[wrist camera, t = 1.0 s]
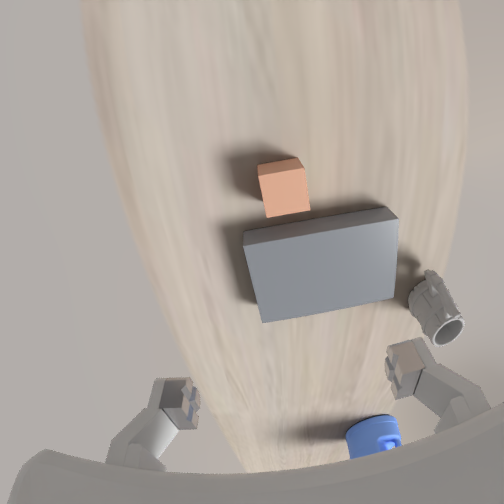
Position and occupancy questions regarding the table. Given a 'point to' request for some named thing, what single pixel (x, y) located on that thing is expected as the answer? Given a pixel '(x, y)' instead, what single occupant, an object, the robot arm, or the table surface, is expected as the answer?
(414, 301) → the mug
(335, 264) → the stand
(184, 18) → the table surface
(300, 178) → the cube
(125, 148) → the table surface
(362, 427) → the water jug
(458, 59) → the table surface
